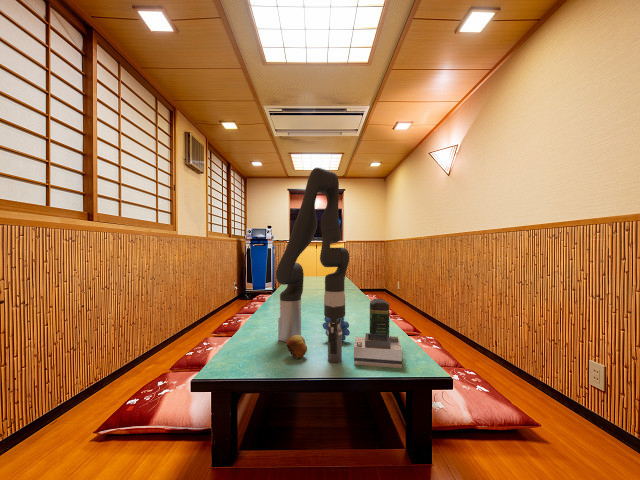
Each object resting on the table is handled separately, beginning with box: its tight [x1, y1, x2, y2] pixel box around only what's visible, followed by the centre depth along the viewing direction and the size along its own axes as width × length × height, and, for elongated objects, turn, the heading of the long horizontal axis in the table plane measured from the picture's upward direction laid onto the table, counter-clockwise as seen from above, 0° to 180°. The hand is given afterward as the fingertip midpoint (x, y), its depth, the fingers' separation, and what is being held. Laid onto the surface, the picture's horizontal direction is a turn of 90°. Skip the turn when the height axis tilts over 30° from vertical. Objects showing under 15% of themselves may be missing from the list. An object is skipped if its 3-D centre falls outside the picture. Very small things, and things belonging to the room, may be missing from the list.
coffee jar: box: [369, 298, 390, 336], centre depth 119 cm, size 10×8×19 cm
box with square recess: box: [353, 332, 403, 369], centre depth 104 cm, size 16×11×8 cm
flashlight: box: [327, 328, 343, 364], centre depth 103 cm, size 5×5×11 cm
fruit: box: [285, 335, 308, 360], centre depth 106 cm, size 8×8×8 cm
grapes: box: [322, 316, 351, 342], centre depth 122 cm, size 12×7×12 cm, turn 84°
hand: (334, 350), depth 103 cm, fingers closed on flashlight, 5 cm apart
